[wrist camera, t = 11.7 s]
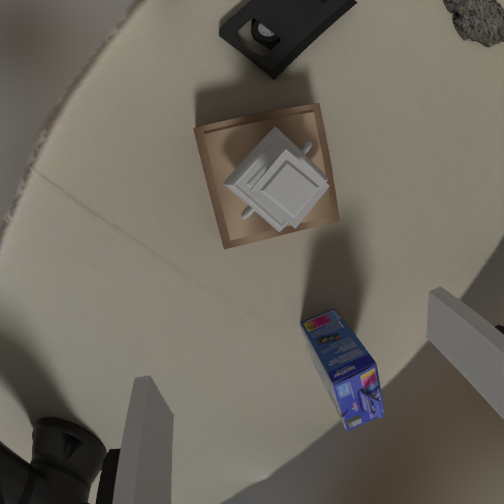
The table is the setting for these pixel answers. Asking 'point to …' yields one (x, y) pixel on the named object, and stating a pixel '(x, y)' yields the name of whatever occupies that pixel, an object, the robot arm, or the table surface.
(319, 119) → the plinth
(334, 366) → the ink cartridge box
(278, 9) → the vhs tape
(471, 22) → the stone slab
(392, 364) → the table surface
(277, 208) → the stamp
